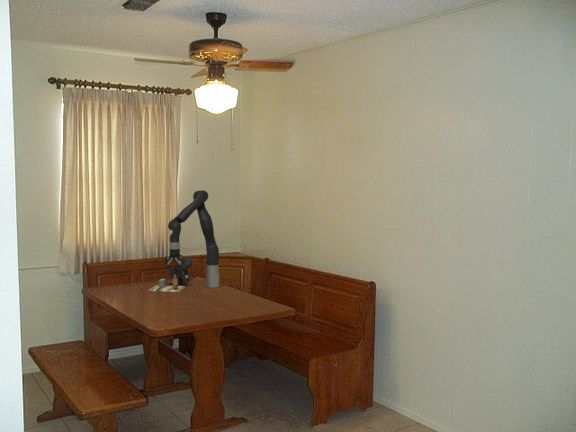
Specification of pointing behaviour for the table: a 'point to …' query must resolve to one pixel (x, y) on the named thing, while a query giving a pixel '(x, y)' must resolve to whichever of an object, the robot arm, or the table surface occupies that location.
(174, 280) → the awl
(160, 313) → the table surface
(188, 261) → the gun
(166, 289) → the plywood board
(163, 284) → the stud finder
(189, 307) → the table surface
